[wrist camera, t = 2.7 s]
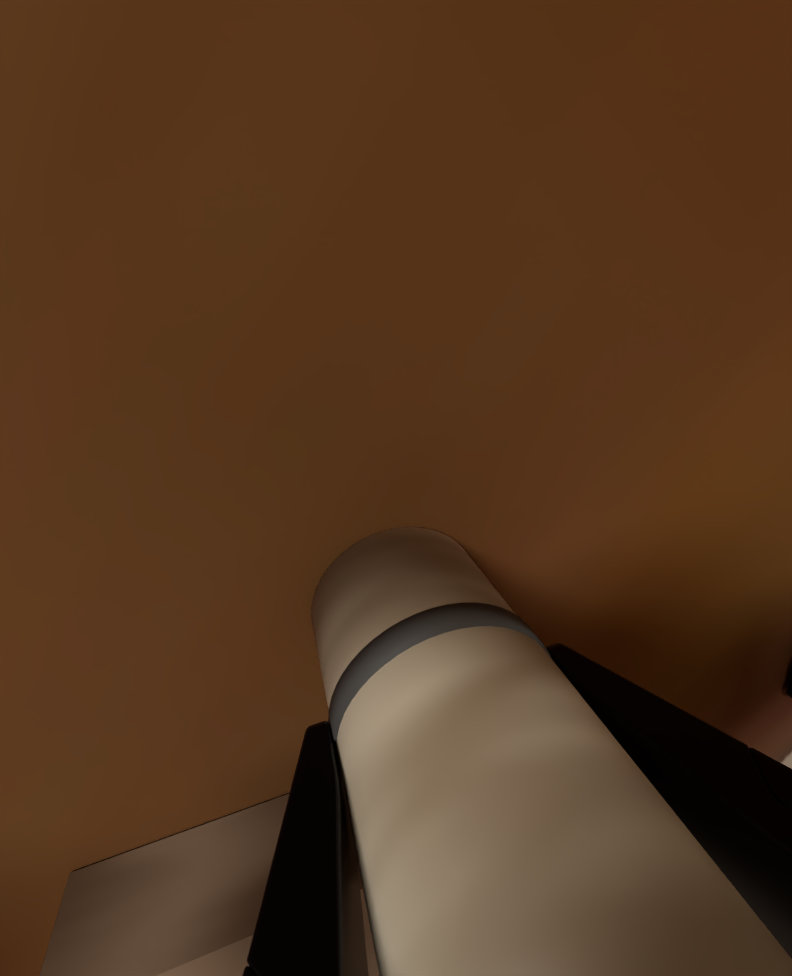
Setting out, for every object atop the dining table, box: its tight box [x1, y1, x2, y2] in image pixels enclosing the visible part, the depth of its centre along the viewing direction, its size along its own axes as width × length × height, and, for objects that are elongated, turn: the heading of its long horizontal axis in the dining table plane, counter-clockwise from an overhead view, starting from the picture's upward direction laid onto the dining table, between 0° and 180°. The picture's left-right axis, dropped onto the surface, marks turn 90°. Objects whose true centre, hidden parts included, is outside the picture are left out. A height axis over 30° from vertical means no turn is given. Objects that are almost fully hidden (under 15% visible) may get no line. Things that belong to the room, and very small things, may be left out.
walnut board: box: [40, 793, 379, 976], centre depth 16 cm, size 12×16×3 cm
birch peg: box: [311, 527, 792, 976], centre depth 8 cm, size 4×4×9 cm
